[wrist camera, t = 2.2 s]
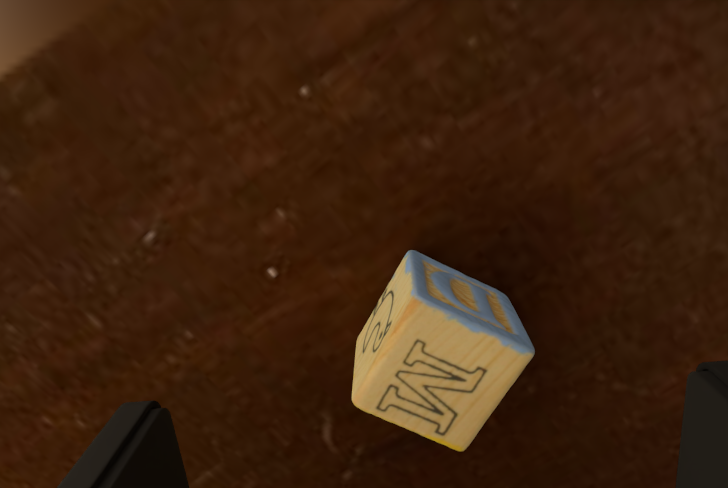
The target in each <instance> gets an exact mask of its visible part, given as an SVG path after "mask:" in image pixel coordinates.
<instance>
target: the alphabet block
mask: <svg viewBox="0 0 728 488" xmlns="http://www.w3.org/2000/svg"><path fill="white" fill-rule="evenodd" d="M534 354H535V349H534V347H533V345H532V343H531V341H530V338H529V336H528V335H527V333H526V331H525V329H524V327H523V325H522V323H521V321H520V319H519V317H518V315H517V313H516V311H515V309H514V307H513V306H512V304H511V302H510V300H509V298H508V297H507V296H506V295H505V294H504V293H502V292H500V291H498V290H497V289H495V288H492V287H490V286H488V285H486V284H484V283H481V282H479V281H477V280H475V279H473V278H471V277H468V276H466V275H464V274H463V273H461V272H459V271H457V270H455V269H452V268H450V267H448V266H446V265H444V264H441V263H439V262H438V261H436V260H433V259H432V258H429V257H427V256H425V255H423V254H421V253H419V252H417V251H415V250H409V251H408V252H407V253H406V255H405V256H404V258H403V260H402V262H401V263H400V265H399V267H398V268H397V270H396V272H395V274H394V276H393V277H392V279H391V281H390V283H389V284H388V286H387V288H386V289H385V291H384V293H383V295H382V296H381V298H380V299H379V301H378V303H377V305H376V307H375V309H374V311H373V312H372V314H371V316H370V318H369V319H368V321H367V323H366V324H365V326H364V328H363V330H362V331H361V333H360V335H359V336H358V338H357V342H356V353H355V364H354V377H353V388H352V402H353V403H354V405H355V406H357V407H358V408H359V409H361V410H363V411H365V412H368V413H370V414H373V415H375V416H377V417H380V418H382V419H384V420H386V421H389V422H391V423H394V424H397V425H398V426H401V427H404V428H406V429H408V430H410V431H413V432H416V433H418V434H420V435H421V436H424V437H426V438H429V439H431V440H434V441H436V442H438V443H440V444H443V445H446V446H448V447H449V448H452V449H454V450H457V451H464V450H465V449H466V448H467V447H468V446H469V445H470V443H471V442H472V441H473V439H474V438H475V436H476V435H477V433H478V432H479V430H480V429H481V428H482V426H483V425H484V423H485V422H486V420H487V419H488V418H489V416H490V415H491V413H492V412H493V411H494V410H495V408H496V407H497V405H498V404H499V403H500V401H501V400H502V398H503V397H504V396H505V394H506V393H507V391H508V390H509V389H510V387H511V386H512V385H513V384H514V382H515V381H516V379H517V378H518V377H519V375H520V374H521V372H522V371H523V369H524V368H525V367H526V365H527V364H528V363H529V362H530V361H531V359H532V358H533V356H534Z"/></svg>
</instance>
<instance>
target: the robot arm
mask: <svg viewBox="0 0 728 488" xmlns="http://www.w3.org/2000/svg"><path fill="white" fill-rule="evenodd" d="M57 488H189V485H188V481H187V477H186V473H185V469H184V466H183V462H182V458H181V454H180V450H179V446H178V442H177V438H176V434H175V430H174V426H173V423H172V419H171V415H170V412H169V411H168V409H166V408H161V406H160V404H159V403H158V402H156V401H143V402H129V403H124V404H122V405H121V406H120V407H119V408H118V410H117V411H116V412H115V413H114V415H113V416H112V417H111V419H110V420H109V421H108V422H107V424H106V425H105V426H104V428H103V429H102V430H101V432H100V433H99V434H98V435H97V437H96V438H95V439H94V441H93V442H92V443H91V444H90V446H89V447H88V448H87V450H86V451H85V452H84V454H83V455H82V456H81V457H80V459H79V460H78V461H77V463H76V464H75V465H74V467H73V468H72V469H71V470H70V472H69V473H68V474H67V476H66V477H65V478H64V479H63V481H62V482H61V483H60V485H59V486H58V487H57ZM676 488H728V361H717V362H703V363H701V364H699V366H698V367H697V369H696V372H691V373H690V374H689V375H688V378H687V385H686V395H685V404H684V414H683V423H682V432H681V442H680V451H679V461H678V470H677V479H676Z"/></svg>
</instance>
